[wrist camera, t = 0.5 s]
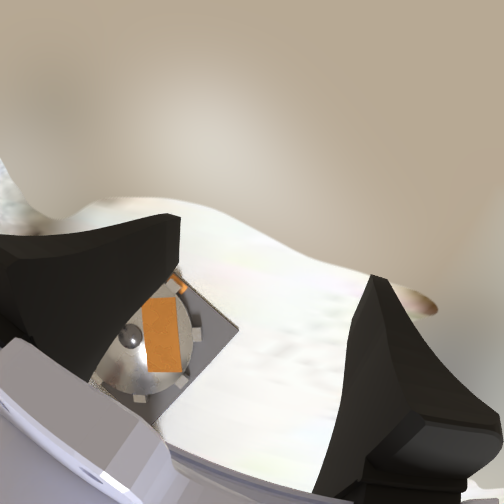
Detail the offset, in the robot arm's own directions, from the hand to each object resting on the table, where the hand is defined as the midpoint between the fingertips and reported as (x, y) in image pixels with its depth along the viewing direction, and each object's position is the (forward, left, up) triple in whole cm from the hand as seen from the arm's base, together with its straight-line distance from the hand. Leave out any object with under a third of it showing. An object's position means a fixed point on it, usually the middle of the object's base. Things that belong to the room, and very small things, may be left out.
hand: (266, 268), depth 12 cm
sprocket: (-15, +7, -27) cm, 31 cm away
